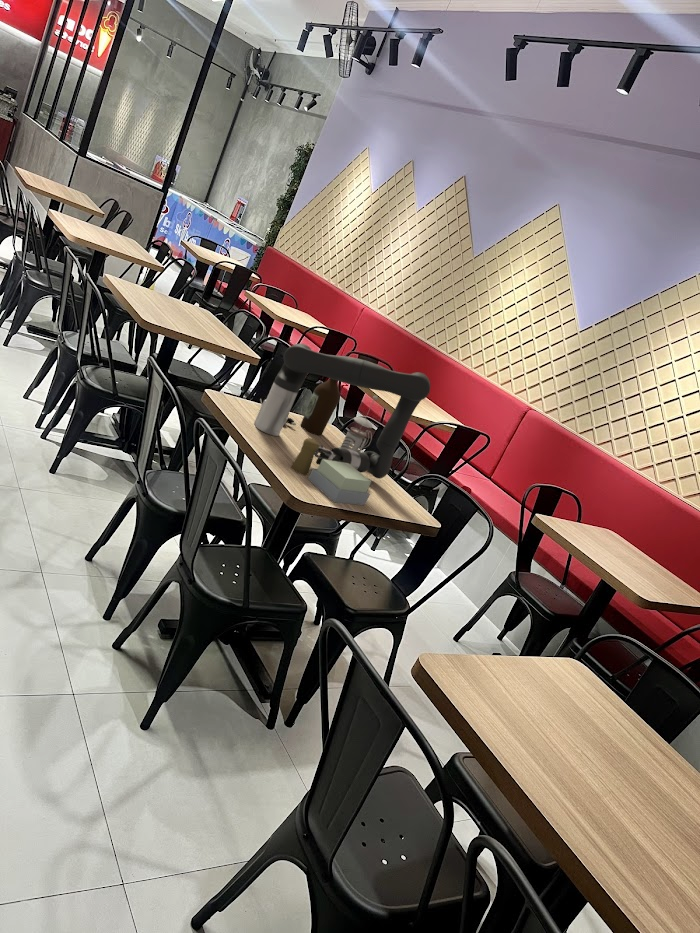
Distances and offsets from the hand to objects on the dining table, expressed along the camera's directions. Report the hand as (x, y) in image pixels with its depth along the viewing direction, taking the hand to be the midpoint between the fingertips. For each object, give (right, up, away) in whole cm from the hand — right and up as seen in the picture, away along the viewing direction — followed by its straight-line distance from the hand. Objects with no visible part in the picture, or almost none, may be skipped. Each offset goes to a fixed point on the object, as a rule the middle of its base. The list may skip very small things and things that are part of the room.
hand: (309, 454), depth 224 cm
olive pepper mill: (-4, -5, +1) cm, 6 cm away
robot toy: (-16, +14, +46) cm, 51 cm away
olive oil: (-3, +11, +54) cm, 55 cm away
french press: (+13, 0, +45) cm, 47 cm away
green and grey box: (+9, -12, -3) cm, 15 cm away
